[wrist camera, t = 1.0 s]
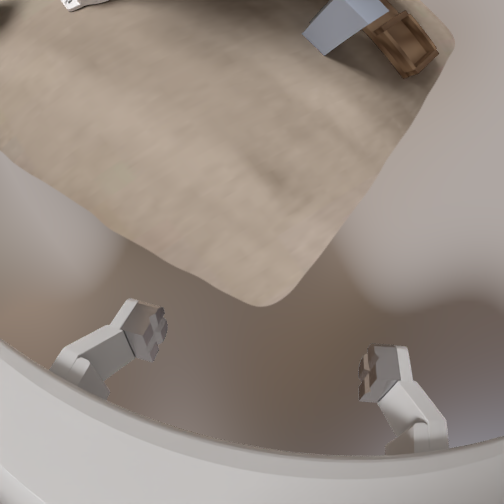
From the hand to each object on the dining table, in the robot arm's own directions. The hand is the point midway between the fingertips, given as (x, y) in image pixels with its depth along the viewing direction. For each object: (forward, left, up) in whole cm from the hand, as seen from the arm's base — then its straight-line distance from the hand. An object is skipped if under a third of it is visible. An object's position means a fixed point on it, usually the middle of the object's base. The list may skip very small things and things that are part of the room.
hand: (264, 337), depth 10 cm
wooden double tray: (-8, +43, -32) cm, 55 cm away
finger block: (-8, +30, -32) cm, 45 cm away
